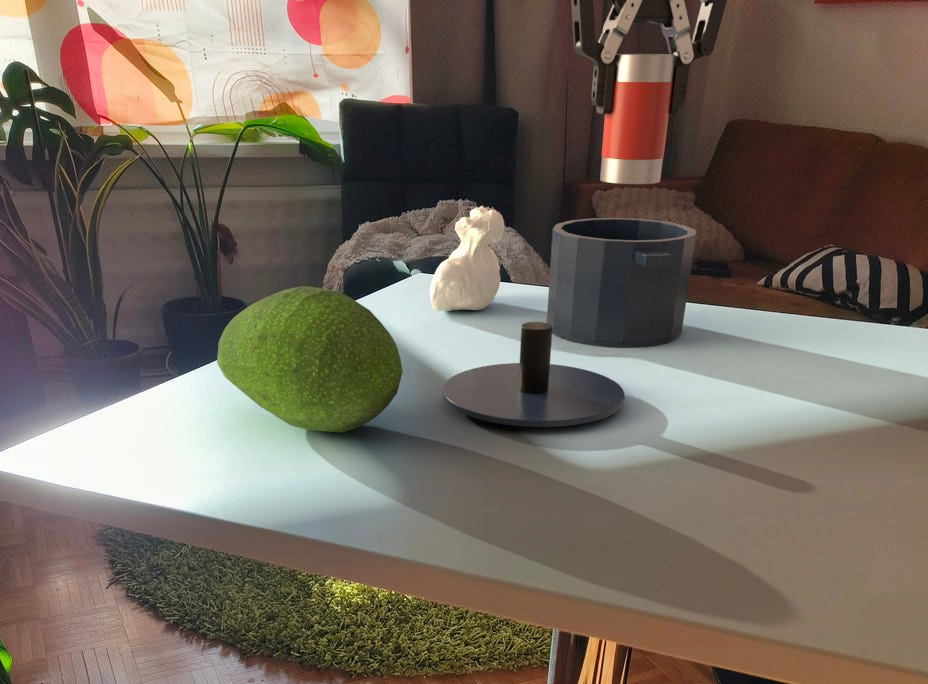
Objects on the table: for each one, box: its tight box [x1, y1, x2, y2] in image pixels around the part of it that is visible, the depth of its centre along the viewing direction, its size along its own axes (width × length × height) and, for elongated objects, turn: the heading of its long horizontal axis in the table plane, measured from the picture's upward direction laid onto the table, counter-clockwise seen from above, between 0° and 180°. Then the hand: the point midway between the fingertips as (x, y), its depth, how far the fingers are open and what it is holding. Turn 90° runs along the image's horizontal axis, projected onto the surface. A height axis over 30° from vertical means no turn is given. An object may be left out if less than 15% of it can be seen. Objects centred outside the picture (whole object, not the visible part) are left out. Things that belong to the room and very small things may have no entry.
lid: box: [442, 321, 626, 428], centre depth 71 cm, size 15×15×6 cm
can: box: [599, 53, 675, 186], centre depth 81 cm, size 6×6×10 cm
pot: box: [546, 217, 697, 348], centre depth 89 cm, size 14×19×9 cm
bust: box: [429, 205, 505, 312], centre depth 96 cm, size 12×8×11 cm
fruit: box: [216, 285, 404, 433], centre depth 65 cm, size 15×10×10 cm, turn 53°
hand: (637, 112), depth 81 cm, fingers closed on can, 5 cm apart
